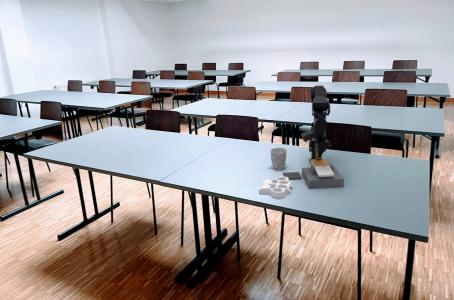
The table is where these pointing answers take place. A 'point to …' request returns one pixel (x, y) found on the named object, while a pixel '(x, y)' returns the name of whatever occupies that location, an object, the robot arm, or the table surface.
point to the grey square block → (322, 178)
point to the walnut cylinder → (317, 156)
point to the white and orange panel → (322, 168)
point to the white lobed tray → (276, 187)
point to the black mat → (292, 175)
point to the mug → (278, 158)
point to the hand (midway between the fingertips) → (318, 156)
